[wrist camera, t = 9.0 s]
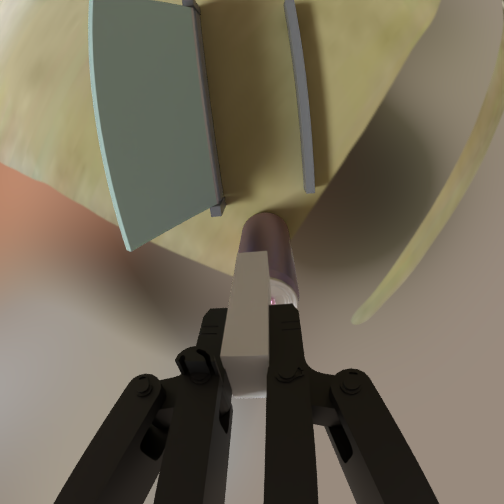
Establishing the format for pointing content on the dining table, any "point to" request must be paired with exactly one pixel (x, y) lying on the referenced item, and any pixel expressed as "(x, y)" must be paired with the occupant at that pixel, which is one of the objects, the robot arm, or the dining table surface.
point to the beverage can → (273, 254)
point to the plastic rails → (301, 94)
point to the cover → (150, 115)
